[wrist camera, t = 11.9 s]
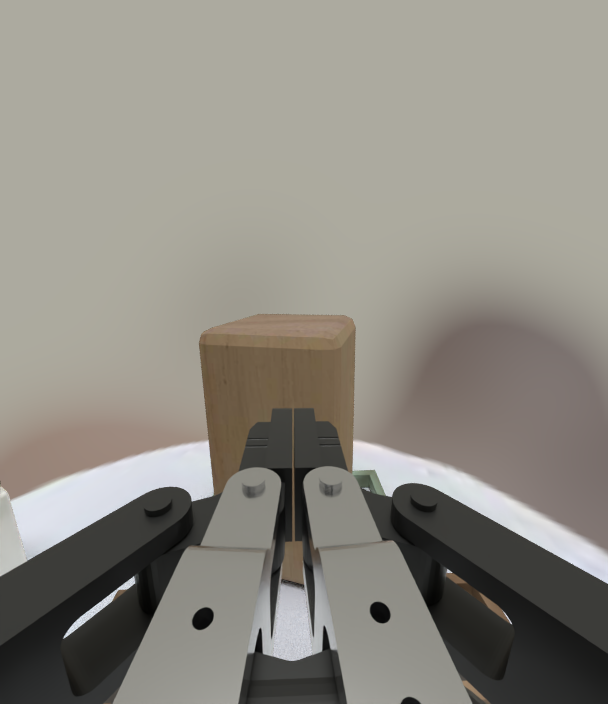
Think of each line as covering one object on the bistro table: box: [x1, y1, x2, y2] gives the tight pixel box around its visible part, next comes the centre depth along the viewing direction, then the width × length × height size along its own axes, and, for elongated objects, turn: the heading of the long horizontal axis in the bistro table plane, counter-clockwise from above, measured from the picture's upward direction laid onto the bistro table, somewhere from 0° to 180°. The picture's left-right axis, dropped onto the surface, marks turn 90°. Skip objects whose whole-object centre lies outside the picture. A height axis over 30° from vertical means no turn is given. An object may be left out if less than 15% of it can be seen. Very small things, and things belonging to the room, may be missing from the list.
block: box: [199, 314, 355, 585], centre depth 26 cm, size 10×10×20 cm
